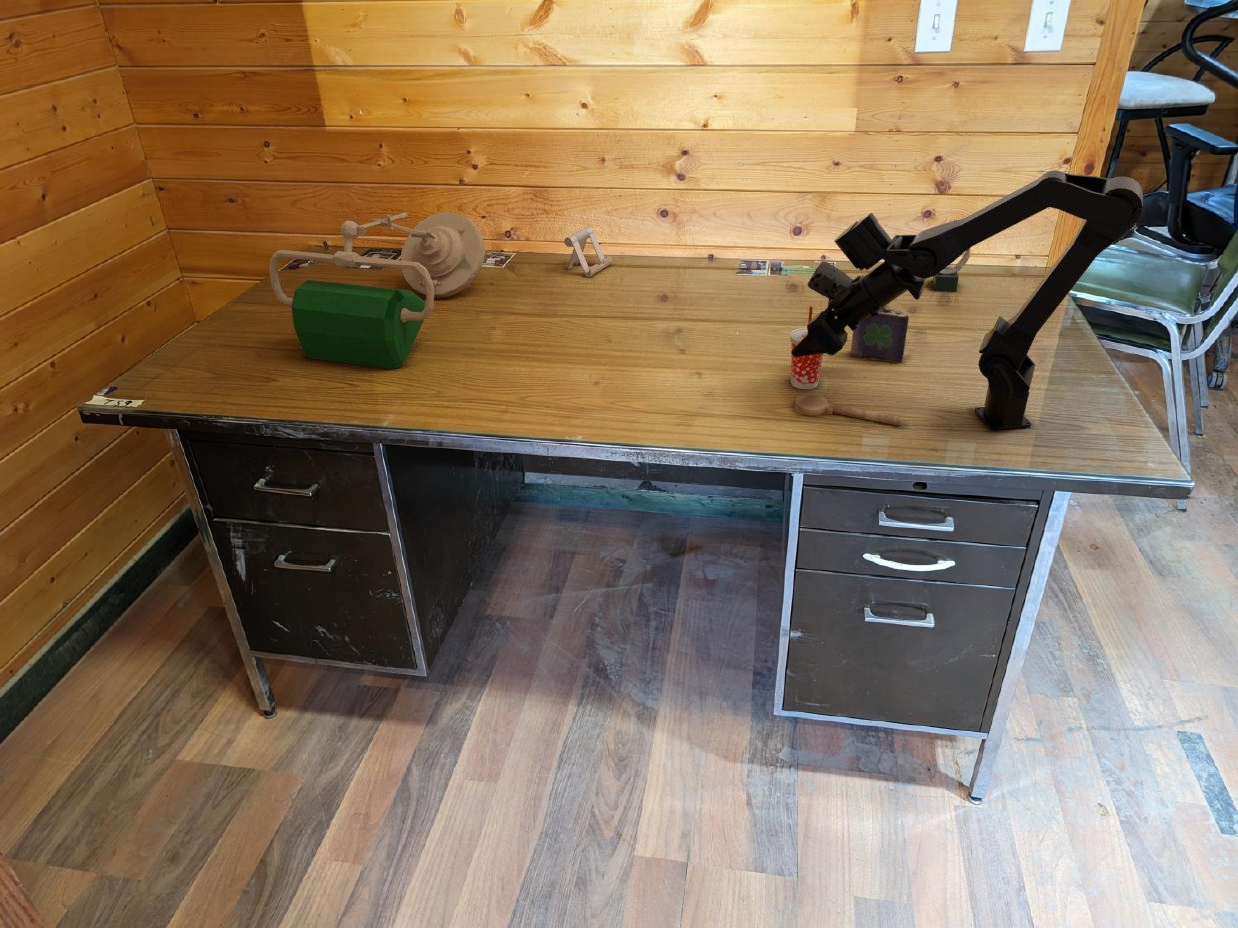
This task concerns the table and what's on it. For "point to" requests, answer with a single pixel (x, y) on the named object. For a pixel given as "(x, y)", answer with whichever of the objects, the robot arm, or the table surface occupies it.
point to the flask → (881, 336)
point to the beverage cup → (804, 362)
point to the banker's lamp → (382, 291)
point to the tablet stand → (578, 244)
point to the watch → (949, 276)
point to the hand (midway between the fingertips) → (801, 343)
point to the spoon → (839, 410)
